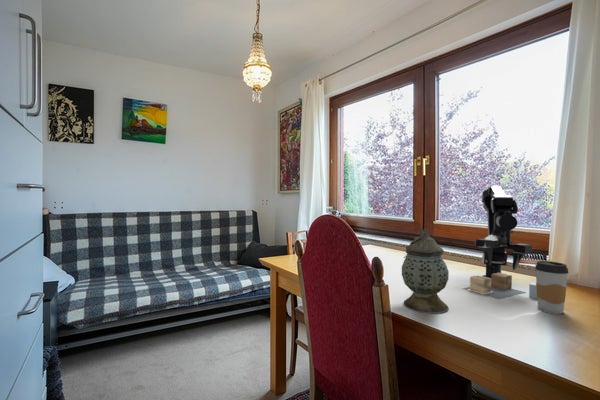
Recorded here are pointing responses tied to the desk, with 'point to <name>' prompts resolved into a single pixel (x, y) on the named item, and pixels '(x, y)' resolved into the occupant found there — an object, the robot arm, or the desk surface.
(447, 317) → the desk surface
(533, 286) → the block
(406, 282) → the lantern
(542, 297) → the coffee cup
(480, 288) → the oak block
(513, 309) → the desk surface
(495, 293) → the build mat
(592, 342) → the desk surface
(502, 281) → the walnut block
